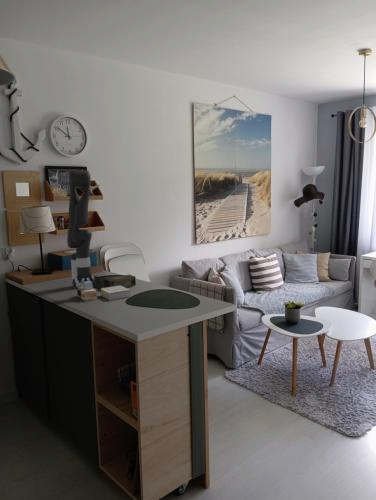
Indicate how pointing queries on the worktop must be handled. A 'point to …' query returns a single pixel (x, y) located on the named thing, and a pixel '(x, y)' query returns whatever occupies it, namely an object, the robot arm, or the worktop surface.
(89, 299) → the tan rectangular block
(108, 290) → the dock
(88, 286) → the pale blue cube
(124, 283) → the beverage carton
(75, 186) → the robot arm
